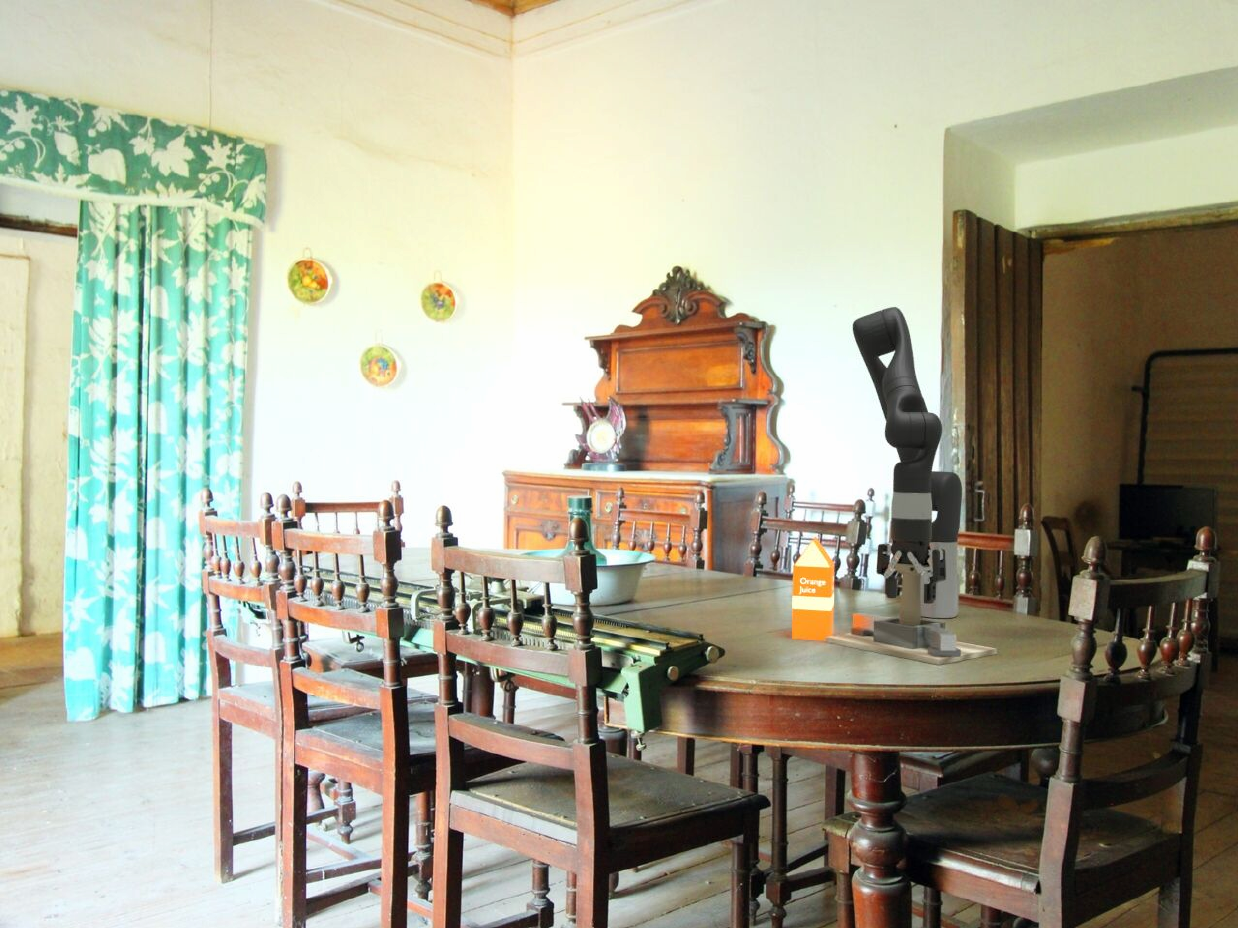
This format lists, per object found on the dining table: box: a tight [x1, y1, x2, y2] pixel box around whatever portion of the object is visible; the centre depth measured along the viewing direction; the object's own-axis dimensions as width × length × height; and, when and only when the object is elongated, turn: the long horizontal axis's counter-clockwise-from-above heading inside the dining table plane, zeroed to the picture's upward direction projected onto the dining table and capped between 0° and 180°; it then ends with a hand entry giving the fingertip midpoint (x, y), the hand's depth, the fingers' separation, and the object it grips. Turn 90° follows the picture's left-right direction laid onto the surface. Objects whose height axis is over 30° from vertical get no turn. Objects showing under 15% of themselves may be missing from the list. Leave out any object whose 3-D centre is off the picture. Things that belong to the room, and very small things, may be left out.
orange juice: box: [791, 536, 835, 642], centre depth 209 cm, size 8×9×20 cm
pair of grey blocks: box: [850, 612, 961, 657], centre depth 196 cm, size 10×26×4 cm, turn 38°
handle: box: [895, 563, 928, 627], centre depth 198 cm, size 5×6×15 cm
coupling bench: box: [825, 617, 998, 666], centre depth 198 cm, size 18×26×5 cm
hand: (909, 600), depth 198 cm, fingers open, 8 cm apart
